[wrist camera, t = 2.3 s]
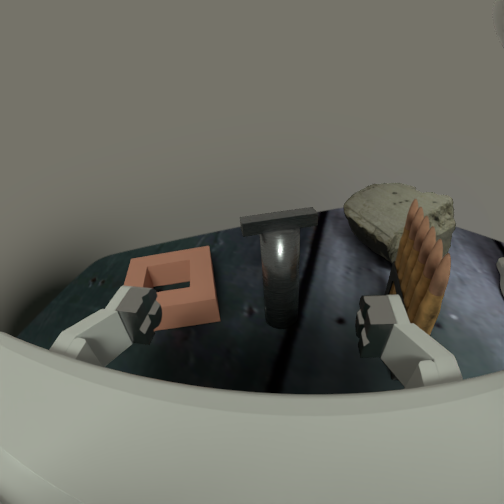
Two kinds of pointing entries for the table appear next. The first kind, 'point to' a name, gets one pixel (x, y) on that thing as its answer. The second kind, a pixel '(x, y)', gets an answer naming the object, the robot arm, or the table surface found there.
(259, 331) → the table surface
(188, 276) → the orange square frame
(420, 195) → the concrete fragment
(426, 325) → the ammunition clip
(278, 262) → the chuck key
